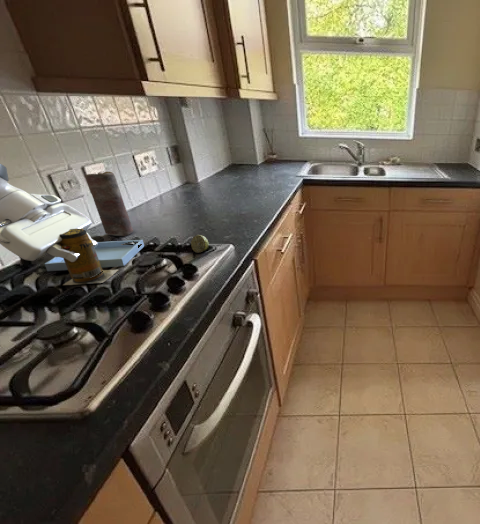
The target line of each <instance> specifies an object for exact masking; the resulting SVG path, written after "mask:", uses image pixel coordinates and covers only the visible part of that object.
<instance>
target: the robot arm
mask: <svg viewBox="0 0 480 524" xmlns="http://www.w3.org/2000/svg"><path fill="white" fill-rule="evenodd" d="M92 224H93V222H92V220H91V219H90V218H89V217H88V216H87V215H85V213H82V212H81V211H79V210H78V209H76V208H75V207H73V206H71V205H69V204H66V203H64V202H62V199H61V198H59V197H58V196H57V195H54V194H39V193H28V192H27V191H25V190H23V189H22V188H19V187H16V186H14V185H12V184H10V183H9V174H8V168H7V166H5V165H4V164H2V163H0V245H1V246H2V247H4V248H5V249H6V250H8V251H9V252H11V253H12V254H14V255H15V256H17V257H19V258H21V259H22V260H25V261H29V262H34V261H35V260H38V259H40V258H41V257H43V256H45V255H47V254H49V256H52V257H60V258H65V259H67V260H69V261H71V262H74V261H76V260H77V259H78V258H79V257H80V254H78V253H76V252H75V251H68V250H65V249H61V246H59V245H60V241H62V238H61V237H60V234H63V233H66V232H67V231H69V230H70V229H77V228H79V229H85V230H86V231H87V230H88V229H90V227H91V226H92ZM87 235H88V237H89V239H90V240H91V241H92V243H93V245H94V248H95V247H96V246H97V245H98V243H97V242H98V241H96V240H95V239H93V238H92V236H91V235H90V234H89V233H88V232H87Z"/></svg>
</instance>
